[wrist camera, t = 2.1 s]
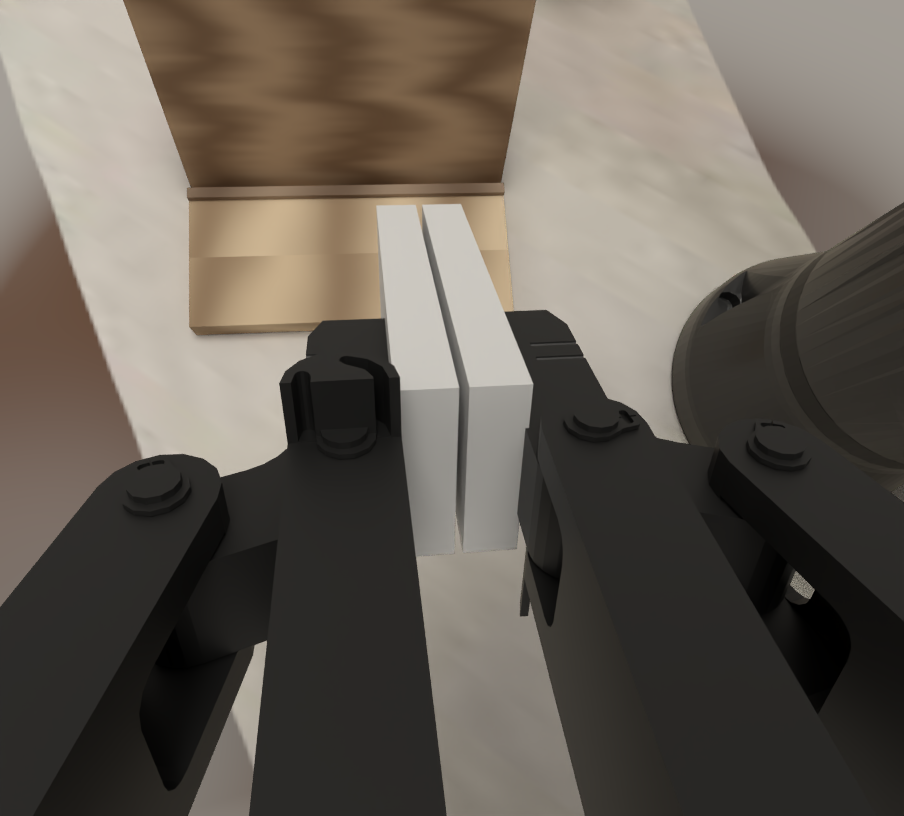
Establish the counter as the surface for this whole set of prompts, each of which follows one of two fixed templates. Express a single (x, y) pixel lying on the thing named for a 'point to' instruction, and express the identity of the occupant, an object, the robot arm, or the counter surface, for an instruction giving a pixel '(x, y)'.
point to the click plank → (336, 88)
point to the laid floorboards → (313, 251)
